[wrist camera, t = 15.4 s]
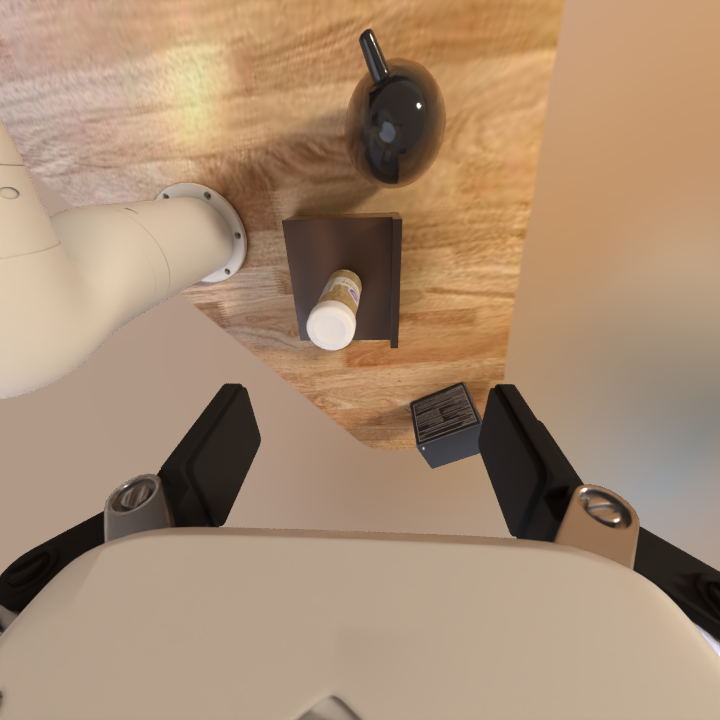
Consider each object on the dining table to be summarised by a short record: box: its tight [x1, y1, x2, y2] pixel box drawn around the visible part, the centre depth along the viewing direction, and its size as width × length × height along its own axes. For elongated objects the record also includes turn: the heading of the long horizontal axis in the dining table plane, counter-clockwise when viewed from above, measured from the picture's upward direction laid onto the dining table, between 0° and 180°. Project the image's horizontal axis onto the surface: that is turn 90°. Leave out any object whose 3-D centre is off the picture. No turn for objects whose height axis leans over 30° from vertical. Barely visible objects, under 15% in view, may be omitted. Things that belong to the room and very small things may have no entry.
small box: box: [410, 382, 482, 469], centre depth 50 cm, size 11×6×10 cm, turn 121°
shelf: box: [282, 212, 402, 348], centre depth 40 cm, size 14×16×8 cm
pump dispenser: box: [345, 29, 446, 189], centre depth 28 cm, size 10×10×15 cm
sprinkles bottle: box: [307, 270, 362, 350], centre depth 33 cm, size 5×5×14 cm
